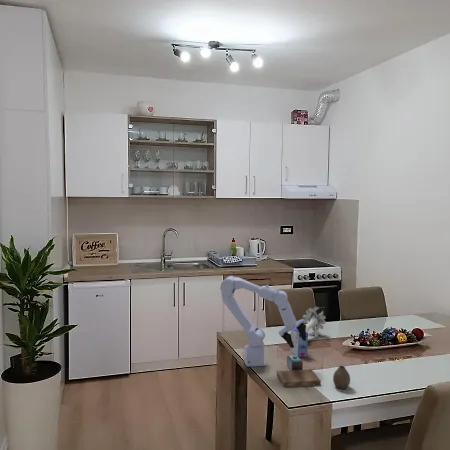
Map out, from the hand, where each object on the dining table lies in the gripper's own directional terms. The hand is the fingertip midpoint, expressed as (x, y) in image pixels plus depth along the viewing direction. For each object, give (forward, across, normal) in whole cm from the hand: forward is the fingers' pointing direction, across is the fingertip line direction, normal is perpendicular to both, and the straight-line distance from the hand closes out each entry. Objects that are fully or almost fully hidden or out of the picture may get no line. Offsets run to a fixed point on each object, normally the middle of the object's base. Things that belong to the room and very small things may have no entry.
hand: (298, 343), depth 207 cm
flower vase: (+11, +29, +34) cm, 46 cm away
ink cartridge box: (+10, +8, +17) cm, 22 cm away
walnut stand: (+11, -12, -8) cm, 18 cm away
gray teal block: (+10, -6, +2) cm, 12 cm away
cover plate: (+6, -5, +1) cm, 8 cm away
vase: (+18, -1, -21) cm, 28 cm away
